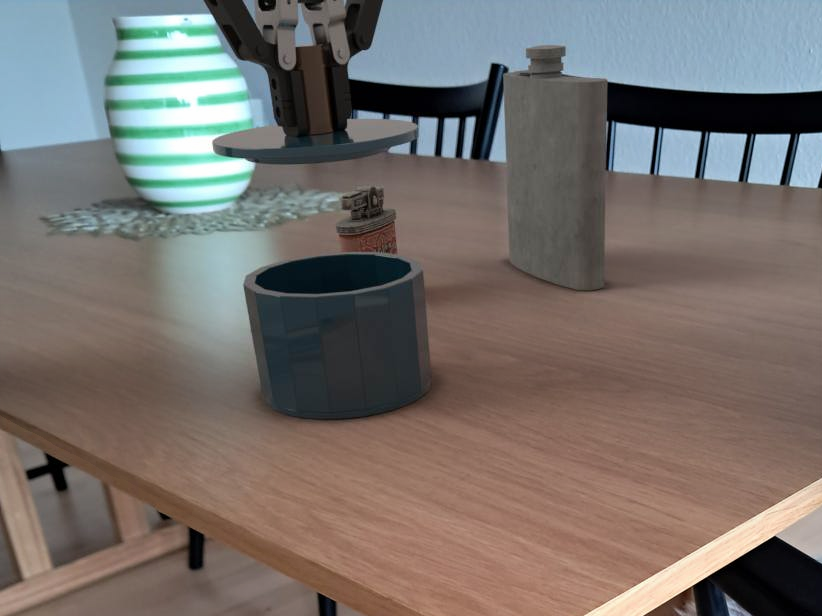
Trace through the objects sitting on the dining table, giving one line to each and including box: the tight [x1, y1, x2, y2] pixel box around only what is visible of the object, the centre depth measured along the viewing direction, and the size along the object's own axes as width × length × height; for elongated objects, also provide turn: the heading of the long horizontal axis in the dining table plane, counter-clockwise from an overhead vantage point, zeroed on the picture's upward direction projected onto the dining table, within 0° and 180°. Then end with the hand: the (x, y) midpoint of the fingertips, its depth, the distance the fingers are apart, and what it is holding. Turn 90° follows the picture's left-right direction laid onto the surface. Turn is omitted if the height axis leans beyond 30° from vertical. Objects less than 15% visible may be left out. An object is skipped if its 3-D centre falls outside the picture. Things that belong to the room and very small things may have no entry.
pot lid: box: [211, 43, 420, 166], centre depth 66 cm, size 14×14×6 cm
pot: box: [242, 252, 432, 420], centre depth 74 cm, size 13×13×8 cm
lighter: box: [334, 185, 399, 255], centre depth 95 cm, size 8×3×10 cm, turn 154°
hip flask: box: [502, 44, 608, 292], centre depth 97 cm, size 16×4×20 cm, turn 26°
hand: (315, 131), depth 67 cm, fingers closed on pot lid, 2 cm apart
